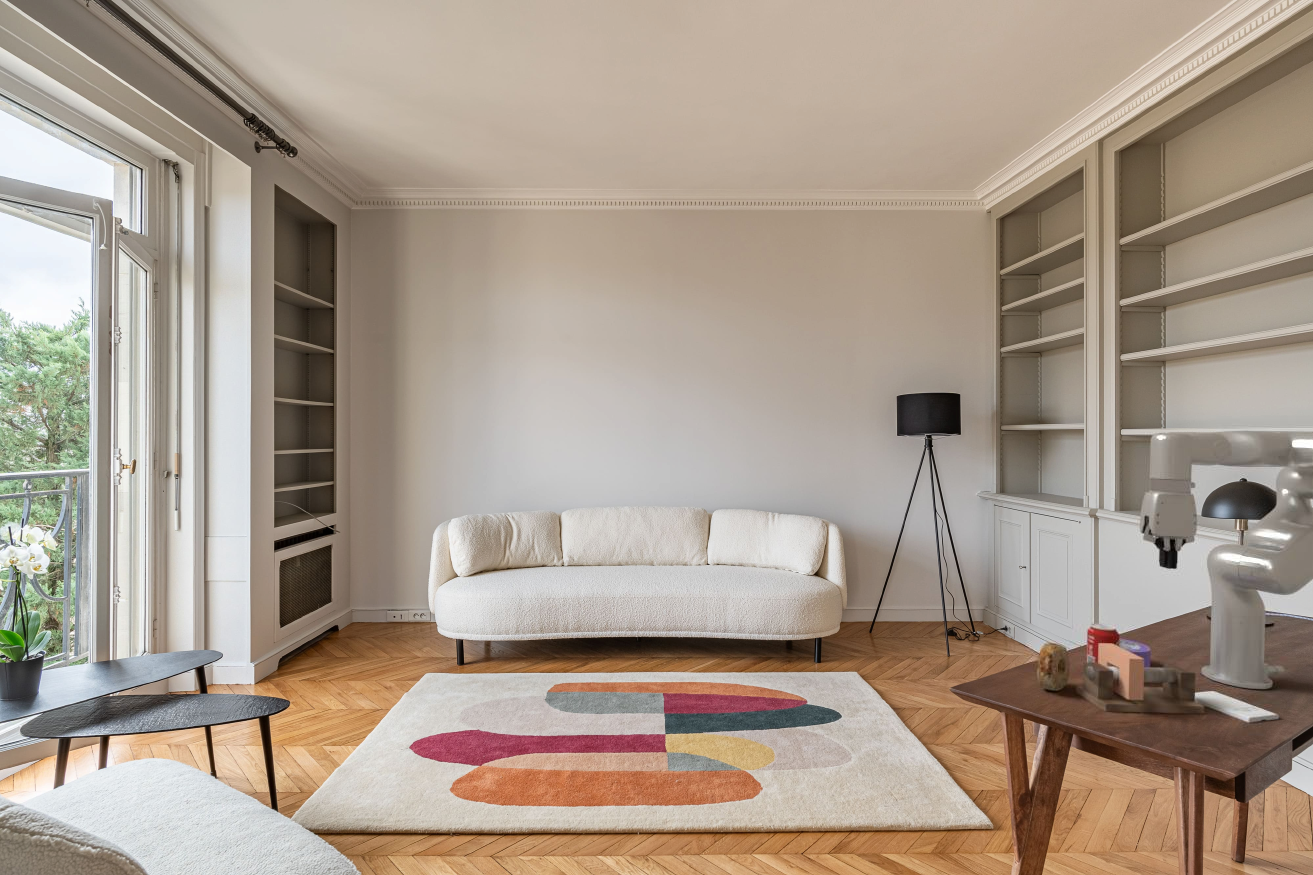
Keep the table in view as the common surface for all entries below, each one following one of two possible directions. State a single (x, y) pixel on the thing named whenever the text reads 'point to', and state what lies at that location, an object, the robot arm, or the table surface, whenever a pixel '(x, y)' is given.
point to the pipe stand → (1155, 699)
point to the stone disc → (1053, 666)
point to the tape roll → (1136, 650)
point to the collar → (1124, 670)
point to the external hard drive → (1233, 707)
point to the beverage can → (1100, 639)
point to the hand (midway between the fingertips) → (1168, 567)
